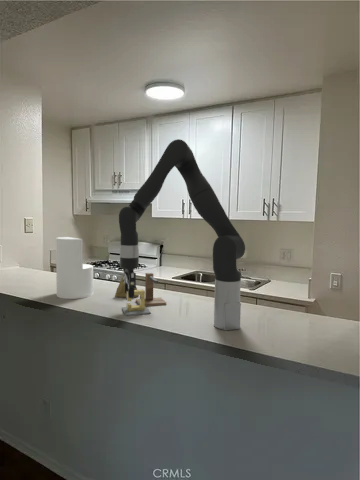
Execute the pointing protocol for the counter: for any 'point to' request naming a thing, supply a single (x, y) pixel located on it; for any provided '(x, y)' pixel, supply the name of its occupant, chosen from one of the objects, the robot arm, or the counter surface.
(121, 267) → the robot arm
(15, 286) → the counter surface
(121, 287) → the rock
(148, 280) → the hook stand
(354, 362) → the counter surface
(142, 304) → the c link
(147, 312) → the slate mat
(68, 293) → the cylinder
